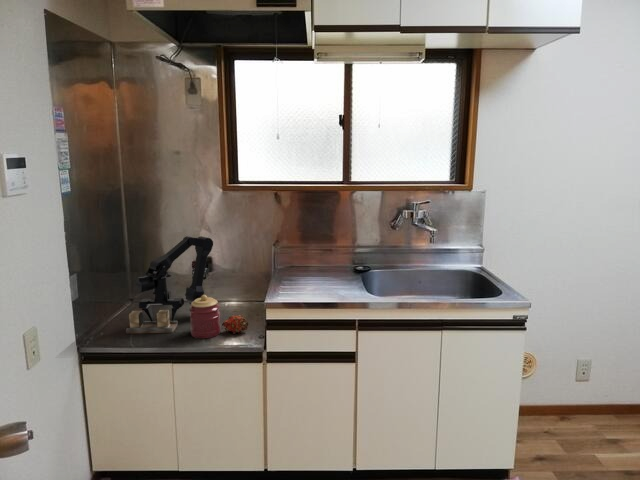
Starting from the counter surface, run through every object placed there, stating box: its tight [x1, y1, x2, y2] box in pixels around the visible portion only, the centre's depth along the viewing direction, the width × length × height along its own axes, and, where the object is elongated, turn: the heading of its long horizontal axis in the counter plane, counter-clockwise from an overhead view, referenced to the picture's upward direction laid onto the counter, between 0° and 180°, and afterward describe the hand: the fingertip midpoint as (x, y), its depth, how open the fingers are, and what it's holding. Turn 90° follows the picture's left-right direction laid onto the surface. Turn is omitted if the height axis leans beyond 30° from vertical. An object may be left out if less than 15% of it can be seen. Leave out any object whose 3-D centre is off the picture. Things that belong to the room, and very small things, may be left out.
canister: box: [188, 294, 222, 339], centre depth 198 cm, size 13×13×18 cm
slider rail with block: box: [125, 310, 179, 335], centre depth 204 cm, size 20×9×8 cm, turn 93°
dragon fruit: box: [221, 314, 249, 335], centre depth 200 cm, size 8×8×12 cm
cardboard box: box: [155, 309, 171, 327], centre depth 204 cm, size 5×5×7 cm
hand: (162, 321), depth 204 cm, fingers open, 9 cm apart
